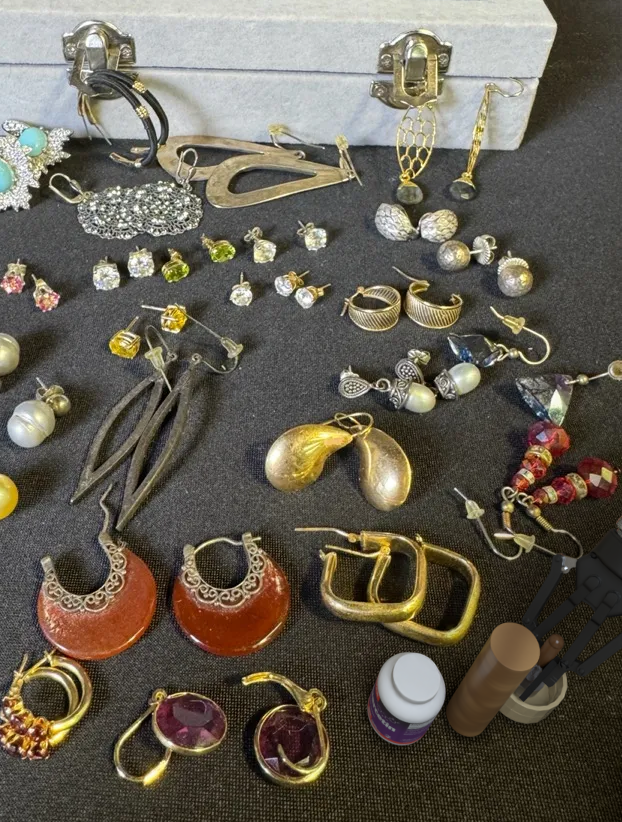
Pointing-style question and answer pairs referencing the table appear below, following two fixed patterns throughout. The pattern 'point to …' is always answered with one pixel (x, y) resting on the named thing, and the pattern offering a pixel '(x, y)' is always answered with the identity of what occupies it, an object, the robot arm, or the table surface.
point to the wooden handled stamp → (542, 662)
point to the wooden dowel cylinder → (492, 678)
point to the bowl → (535, 703)
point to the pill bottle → (405, 698)
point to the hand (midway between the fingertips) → (515, 688)
